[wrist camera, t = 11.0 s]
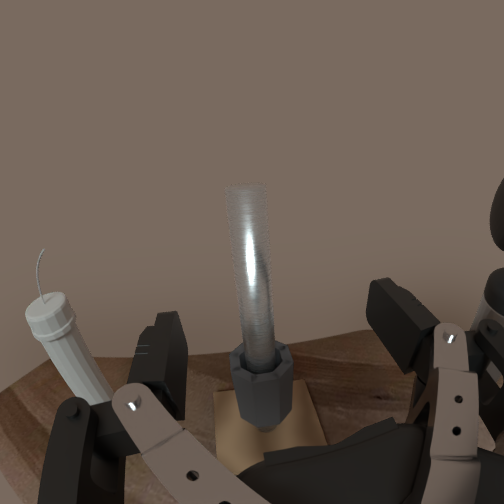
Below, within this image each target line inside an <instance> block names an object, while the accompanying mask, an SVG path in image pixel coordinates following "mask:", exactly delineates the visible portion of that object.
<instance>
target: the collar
mask: <svg viewBox="0 0 504 504" xmlns="http://www.w3.org/2000/svg"><path fill="white" fill-rule="evenodd" d="M229 357H230V368H231V375H232V380H233V385H234V389H235V394H236V399H237V403H238V408H239V412H240V417H241V418H242V419H244V420H245V421H247V422H249V423H250V424H252V425H254V426H256V427H258V428H260V427H266V426H273V425H278V424H281V422H282V421H283V420H284V419H285V418H286V416H287V415H288V414H289V413H290V411H291V410H292V396H293V366H294V362H293V359H292V356H291V353H290V351H289V348H288V345H285V344H283V343H280V342H278V341H275V360H276V369H275V370H274V371H273V372H270V373H263V374H257V375H254V374H252V373H250V372H248V371H247V366H246V359H245V352H244V344H243V343H241V344H240V345H239V346H238V347H237V348H236V349H235V350H233V351H232V352H231V353H230V354H229Z"/></svg>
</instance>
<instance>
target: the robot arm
mask: <svg viewBox="0 0 504 504" xmlns="http://www.w3.org/2000/svg"><path fill="white" fill-rule="evenodd" d="M490 230H491V235H492V237H493V240H494V242H495V244H496V245H497V246H498V247H499V248H500V249H501V250H502V251H504V179H503V180H502V182H501V184H500V186H499V187H498V189H497V192H496V194H495V197H494V200H493V203H492V207H491V212H490ZM366 317H367V321H368V323H369V325H370V326H371V327H372V329H373V330H374V331H375V333H376V334H377V336H378V337H379V339H380V340H381V341H382V343H383V344H384V346H385V347H386V348H387V350H388V351H389V353H390V354H391V356H392V357H393V359H394V360H395V362H396V363H397V364H398V366H399V367H400V369H401V370H402V372H403V373H404V375H405V374H407V373H410V372H412V371H415V372H416V376H415V378H414V383H413V390H412V396H411V402H410V408H409V413H408V416H407V419H406V421H405V423H401V424H396V422H395V420H394V418H393V417H390V418H388V419H385V420H383V421H380V422H378V423H375V424H372V425H370V426H367V427H364V428H363V429H361V430H360V431H358V432H356V433H355V434H353V435H351V436H350V437H348V438H346V439H345V440H343V441H341V442H339V443H337V444H335V445H324V446H296V447H292V448H287V449H282V450H276V451H270V452H264V453H263V456H264V460H263V461H261V462H258V463H256V464H254V465H252V466H250V467H248V468H247V469H245V470H244V471H242V472H241V473H240V474H238V475H237V476H235V475H234V474H233V473H232V472H230V471H229V470H228V469H227V468H226V467H225V466H224V465H223V464H221V463H220V462H219V461H218V460H217V459H216V458H215V457H214V456H213V455H212V454H211V453H210V452H209V451H208V450H207V449H206V448H205V447H204V446H203V445H202V444H201V443H200V442H199V441H198V440H197V439H196V438H195V437H194V436H193V435H192V434H191V433H190V432H189V431H188V430H186V429H185V428H184V429H183V428H182V427H181V426H180V425H179V424H178V423H177V422H176V421H181V420H185V398H186V378H187V362H188V347H187V342H186V338H185V335H184V332H183V329H182V325H181V322H180V319H179V315H178V313H177V311H172V312H163V313H158V314H157V317H156V321H155V326H147V327H146V329H145V330H144V331H143V332H142V333H141V335H140V337H139V340H138V344H137V347H136V351H135V355H134V358H133V362H132V366H131V369H130V373H129V377H128V381H127V385H124V386H122V387H121V388H119V389H118V390H117V391H116V392H115V394H114V396H113V398H112V400H110V401H107V402H103V403H99V404H94V405H89V403H88V402H87V401H86V400H85V399H83V398H81V397H71V398H69V399H67V400H65V401H64V402H63V403H62V404H61V405H60V406H59V408H58V410H57V413H56V416H55V420H54V423H53V427H52V431H51V435H50V439H49V443H48V447H47V451H46V456H45V460H44V465H43V470H42V476H41V482H40V488H39V495H38V503H37V504H124V483H125V462H126V456H129V455H133V454H137V453H142V454H141V456H142V458H143V459H144V461H145V462H146V464H147V465H148V466H149V468H150V469H151V470H152V472H153V473H154V474H155V475H156V477H157V478H158V479H159V481H160V482H161V483H162V484H163V485H164V487H165V488H166V489H167V490H168V491H169V493H170V494H171V495H172V496H173V497H174V498H175V499H176V501H177V502H178V503H179V504H504V382H503V386H502V387H501V389H500V388H499V386H498V385H497V384H496V382H497V381H498V379H499V378H500V376H501V375H502V376H503V379H504V268H500V269H497V270H495V271H493V272H492V273H491V274H490V276H489V278H488V280H487V283H486V287H485V290H484V293H483V296H482V299H481V302H480V305H479V307H478V310H477V313H476V316H475V319H474V321H473V323H472V326H471V328H470V331H465V332H464V331H463V330H462V329H461V328H460V327H459V326H457V325H456V324H453V323H448V322H445V323H440V321H439V320H438V319H437V318H436V317H435V316H434V315H433V314H432V313H431V312H430V311H429V310H428V309H427V308H426V307H425V306H424V305H422V303H421V302H420V301H419V300H418V299H417V300H416V297H415V296H413V294H412V293H410V292H409V291H408V290H406V289H404V288H402V287H400V286H397V285H396V284H395V283H394V282H393V281H392V280H391V279H390V278H382V279H378V280H373V281H372V282H371V283H370V288H369V294H368V301H367V308H366ZM479 415H480V417H481V419H482V420H483V422H484V424H485V425H486V427H487V429H488V431H489V432H490V434H491V436H492V438H493V439H494V441H495V447H496V448H495V449H494V450H493V452H491V451H488V450H485V449H482V448H479V447H477V444H478V425H479Z"/></svg>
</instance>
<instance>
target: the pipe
mask: <svg viewBox="0 0 504 504" xmlns="http://www.w3.org/2000/svg"><path fill="white" fill-rule="evenodd" d="M44 251H45V249H43V250H42V252H41V254H40V256H39V259H38V262H37V269H36V275H37V284H38V288H39V292H40V296H41V297H39V298H37V299H36V300H35V301H33V302H32V303H31V304H30V305H29V306H28V307H27V310H26V312H25V315H26V319H27V321H28V323H29V325H30V327H31V329H32V333H33V335H34V337H35V338H36V339H37V340H39V341H41V343H42V344H43V346H44V348H45V350H46V351H47V353H48V355H49V356H50V358H51V360H52V361H53V363H54V365H55V366H56V368H57V369H58V371H59V372H60V374H61V375H62V377H63V378H64V380H65V381H66V383H67V384H68V386H69V387H70V388H71V390H72V391H73V393H74V394H75V395H76V397H81V398H83V399H85V400H86V401H87V402H88V403H89V405H94V404H99V403H103V402H107V401H110V400H112V398H113V396H114V392H113V390H112V389H111V387H110V386H109V384H108V382H107V381H106V379H105V378H104V376H103V374H102V372H101V371H100V369H99V367H98V366H97V364H96V362H95V360H94V358H93V357H92V355H91V353H90V351H89V349H88V347H87V345H86V344H85V342H84V340H83V338H82V336H81V334H80V332H79V329H78V328H77V325H76V323H75V322H76V315H75V313H74V311H73V309H72V308H71V306H70V304H69V301H68V299H67V297H66V295H65V294H63V293H61V292H52V293H49V294H45V295H43V296H42V293H41V289H40V285H39V277H38V268H39V262H40V259H41V256H42V254H43V252H44Z"/></svg>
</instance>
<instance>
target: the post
mask: <svg viewBox="0 0 504 504" xmlns="http://www.w3.org/2000/svg"><path fill="white" fill-rule="evenodd" d="M225 199H226V208H227V217H228V225H229V234H230V243H231V251H232V260H233V268H234V275H235V284H236V292H237V299H238V307H239V315H240V322H241V330H242V337H243V344H244V352H245V359H246V366H247V371H248V372H250V373H252V374H254V375H257V374H263V373H270V372H273V371H274V370H275V369H276V360H275V336H274V315H273V295H272V294H273V293H272V275H271V257H270V242H269V241H270V240H269V225H268V208H267V194H266V185H265V184H263V183H241V184H235V185H231V186H228V187H226V188H225ZM213 396H214V418H215V436H216V452H217V460H218V461H219V462H220V463H221V464H223V465H224V466H225V467H226V468H227V469H228V470H229V471H230V472H232V473H233V474H234V475H238V474H240V473H241V472H242V471H244V470H245V469H247V468H248V467H250V466H252V465H254V464H256V463H258V462H261V461H263V460H264V456H263V453H264V452H270V451H276V450H282V449H287V448H292V447H296V446H324V445H327V442H326V439H325V436H324V433H323V431H322V428H321V425H320V422H319V419H318V417H317V414H316V411H315V408H314V405H313V403H312V400H311V397H310V394H309V391H308V389H307V386H306V383H305V380H304V379H300V380H295V381H293V396H292V410H291V411H290V413H289V414H288V415H287V416H286V418H285V419H284V420H283V421H282V422H281V424H278V425H273V426H266V427H260V428H258V427H256V426H254V425H252V424H250V423H249V422H247V421H245V420H244V419H242V418H241V417H240V412H239V408H238V403H237V399H236V394H235V390H230V391H220V392H213Z"/></svg>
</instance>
